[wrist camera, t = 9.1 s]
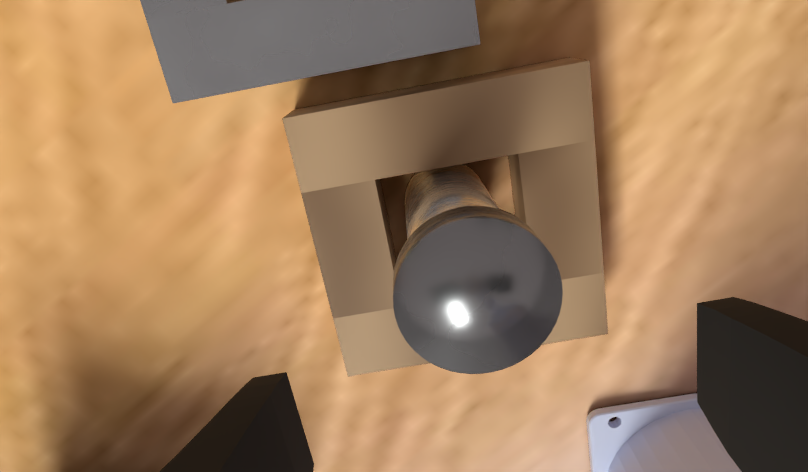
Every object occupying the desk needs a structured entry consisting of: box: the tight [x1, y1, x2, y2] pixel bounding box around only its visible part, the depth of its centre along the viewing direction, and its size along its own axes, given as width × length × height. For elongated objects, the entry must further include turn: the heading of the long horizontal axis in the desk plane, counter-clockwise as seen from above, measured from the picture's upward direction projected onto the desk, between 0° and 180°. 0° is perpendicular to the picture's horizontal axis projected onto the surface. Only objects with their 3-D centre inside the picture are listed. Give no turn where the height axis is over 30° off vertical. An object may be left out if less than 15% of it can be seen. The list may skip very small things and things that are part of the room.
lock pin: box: [393, 164, 563, 374], centre depth 16 cm, size 4×4×8 cm
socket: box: [283, 57, 608, 376], centre depth 19 cm, size 9×9×2 cm
